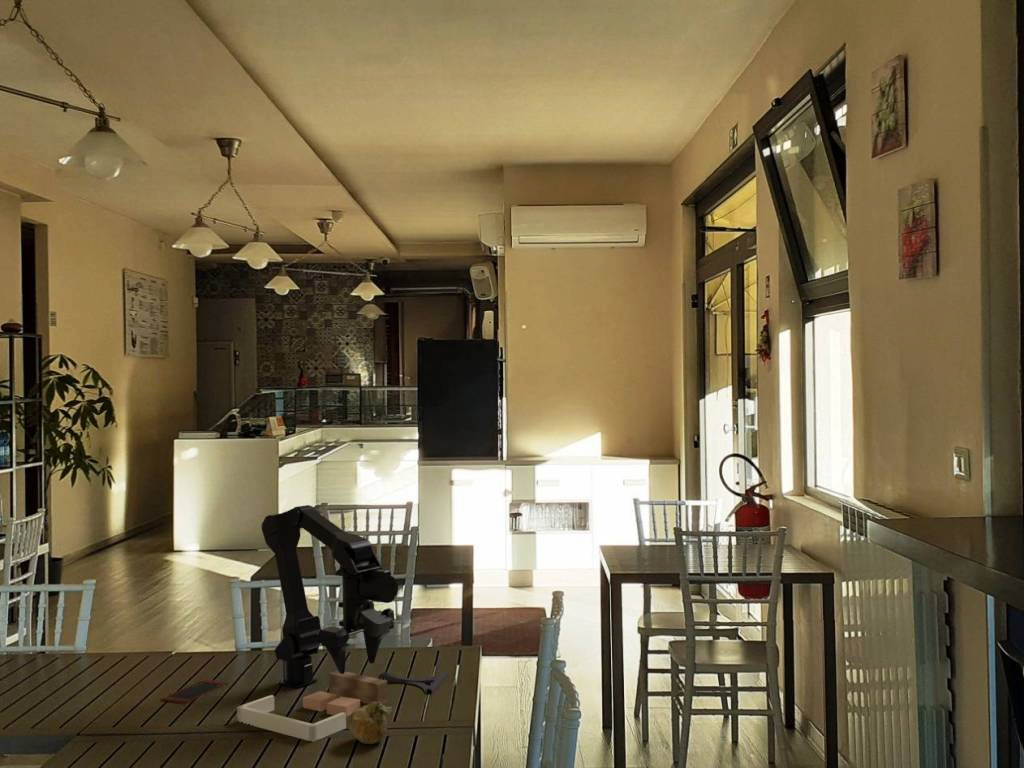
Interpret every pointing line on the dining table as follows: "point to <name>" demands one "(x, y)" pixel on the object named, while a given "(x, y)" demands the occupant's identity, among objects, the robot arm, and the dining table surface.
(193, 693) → the smartphone
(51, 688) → the dining table surface
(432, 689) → the bracket
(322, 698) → the tile
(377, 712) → the onion
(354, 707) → the tile
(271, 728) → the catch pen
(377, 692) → the bar
